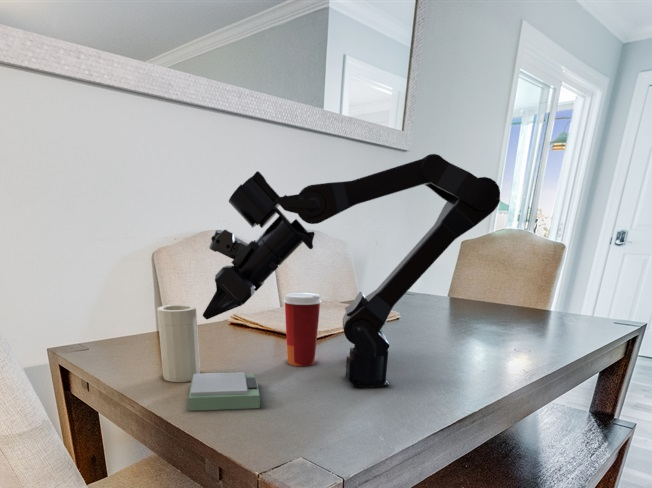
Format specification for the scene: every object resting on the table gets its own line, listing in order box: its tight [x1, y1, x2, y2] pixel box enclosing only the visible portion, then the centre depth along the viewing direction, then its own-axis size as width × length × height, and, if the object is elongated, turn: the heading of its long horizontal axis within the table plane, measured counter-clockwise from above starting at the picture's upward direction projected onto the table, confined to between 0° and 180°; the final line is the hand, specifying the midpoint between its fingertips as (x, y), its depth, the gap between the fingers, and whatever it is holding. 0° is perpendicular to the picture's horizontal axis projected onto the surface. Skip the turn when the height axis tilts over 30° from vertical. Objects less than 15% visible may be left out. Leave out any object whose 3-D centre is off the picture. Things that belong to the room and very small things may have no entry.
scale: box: [187, 371, 261, 412], centre depth 77 cm, size 11×11×3 cm
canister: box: [156, 304, 201, 383], centre depth 85 cm, size 7×7×13 cm
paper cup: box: [282, 292, 323, 367], centre depth 94 cm, size 8×8×14 cm
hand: (210, 312), depth 83 cm, fingers open, 9 cm apart
